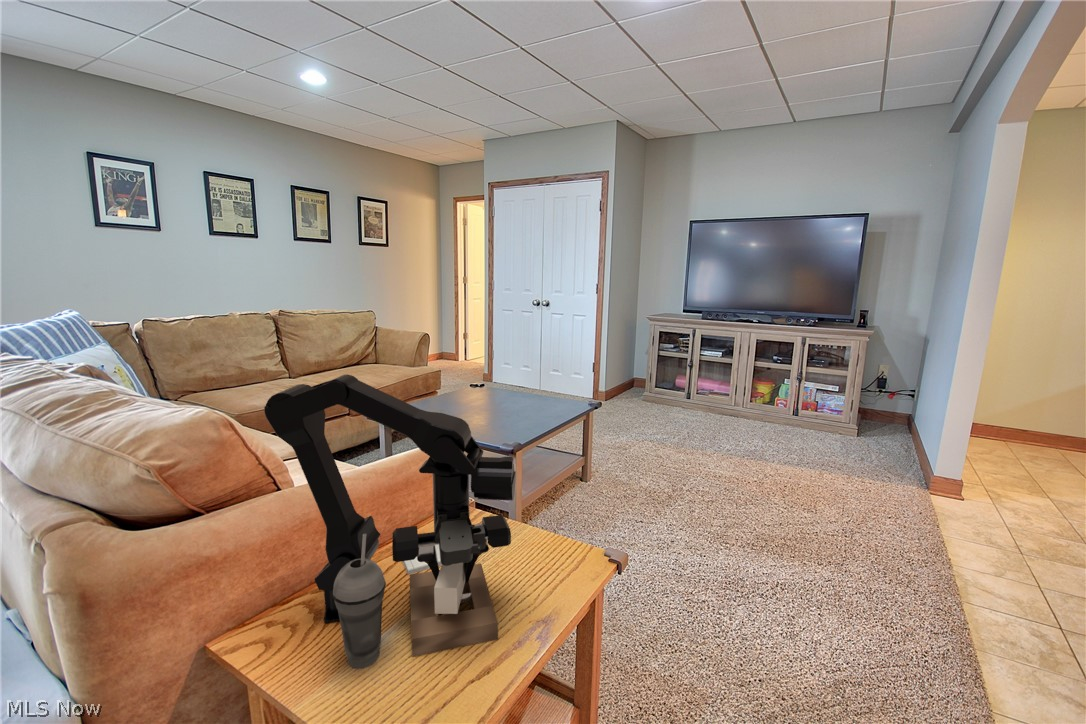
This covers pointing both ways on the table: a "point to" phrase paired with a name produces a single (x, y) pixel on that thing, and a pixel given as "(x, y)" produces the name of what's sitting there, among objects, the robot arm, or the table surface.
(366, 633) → the beverage cup
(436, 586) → the cream block
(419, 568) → the hard drive
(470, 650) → the table surface
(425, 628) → the brown square frame
